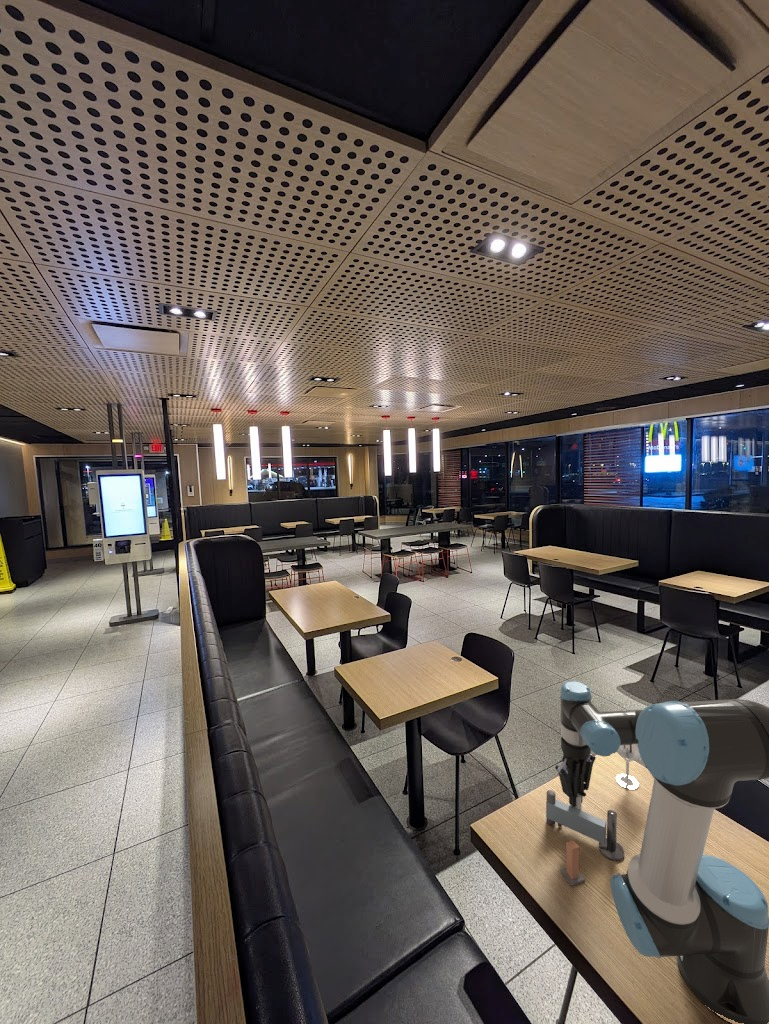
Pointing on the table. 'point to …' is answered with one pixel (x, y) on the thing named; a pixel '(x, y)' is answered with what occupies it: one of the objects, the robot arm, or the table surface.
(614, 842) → the hinge post
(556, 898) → the table surface
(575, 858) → the post
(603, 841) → the gate
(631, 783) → the wineglass
